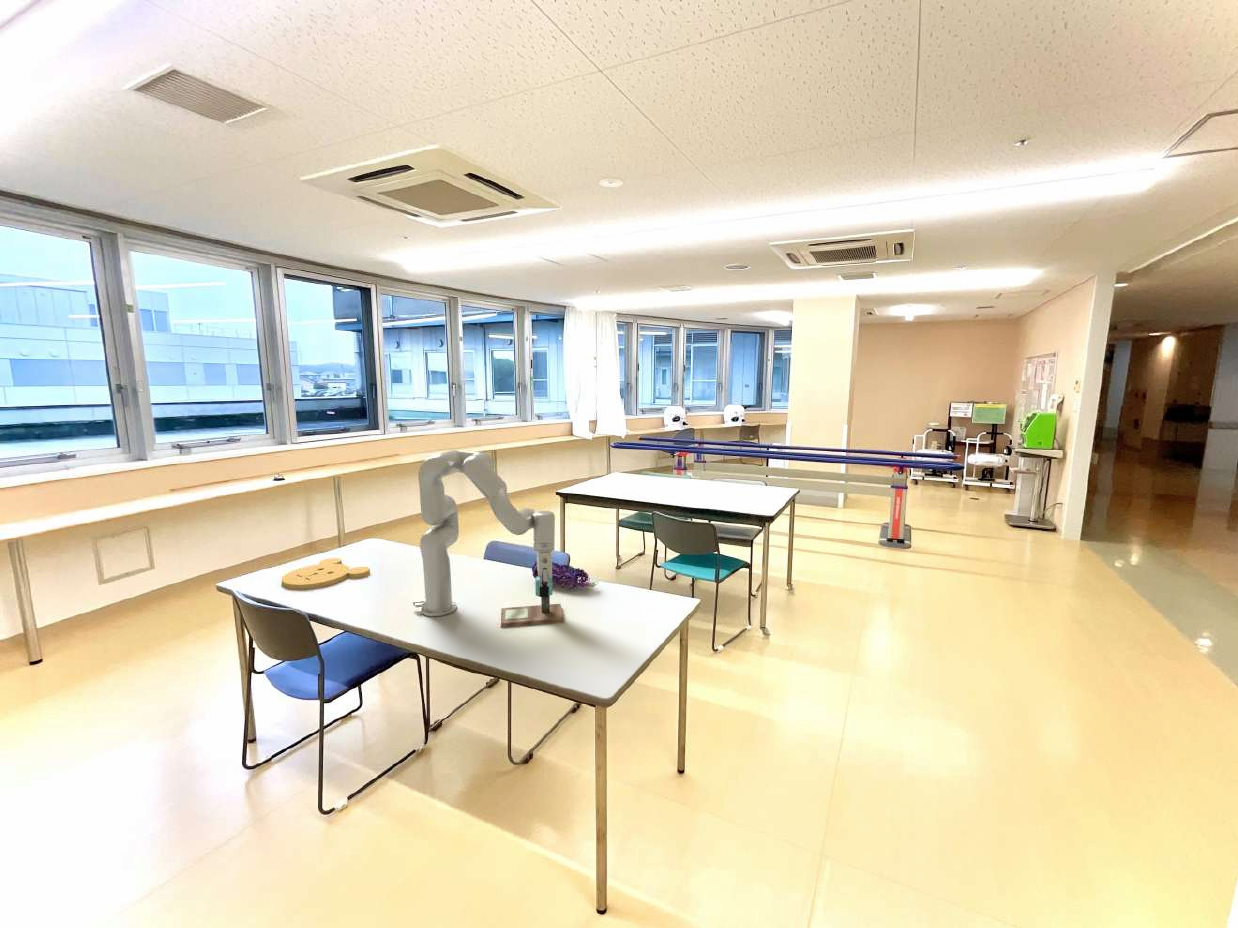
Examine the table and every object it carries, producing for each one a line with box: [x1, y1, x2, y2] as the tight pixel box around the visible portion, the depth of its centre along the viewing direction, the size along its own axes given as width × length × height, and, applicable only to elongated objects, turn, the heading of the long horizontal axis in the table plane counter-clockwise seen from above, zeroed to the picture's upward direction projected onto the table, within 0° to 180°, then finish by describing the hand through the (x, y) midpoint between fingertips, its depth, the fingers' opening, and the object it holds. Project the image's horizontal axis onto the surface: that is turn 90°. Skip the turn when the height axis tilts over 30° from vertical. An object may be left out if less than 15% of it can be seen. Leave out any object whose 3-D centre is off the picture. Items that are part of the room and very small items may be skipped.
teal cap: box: [534, 576, 553, 598], centre depth 195 cm, size 6×6×6 cm
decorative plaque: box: [281, 557, 371, 591], centre depth 235 cm, size 31×3×30 cm
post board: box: [500, 595, 565, 628], centre depth 195 cm, size 22×13×8 cm, turn 101°
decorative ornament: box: [531, 560, 599, 591], centre depth 225 cm, size 13×11×30 cm
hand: (543, 592), depth 195 cm, fingers closed on teal cap, 6 cm apart
